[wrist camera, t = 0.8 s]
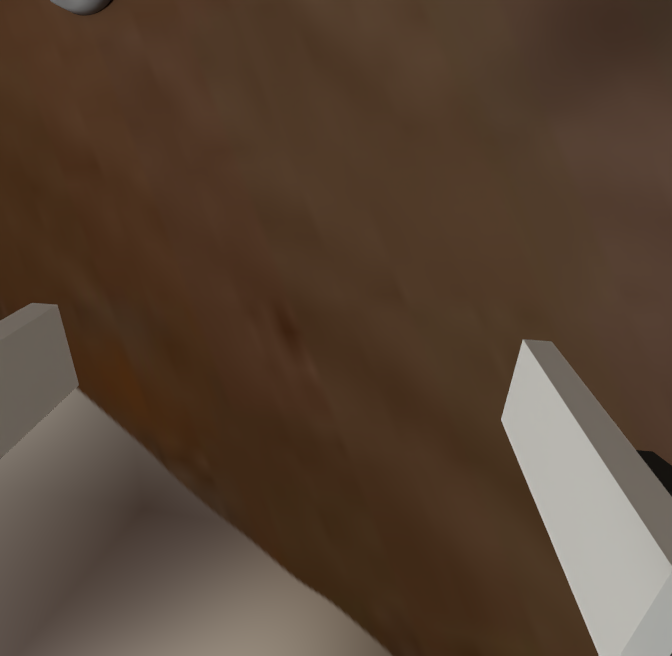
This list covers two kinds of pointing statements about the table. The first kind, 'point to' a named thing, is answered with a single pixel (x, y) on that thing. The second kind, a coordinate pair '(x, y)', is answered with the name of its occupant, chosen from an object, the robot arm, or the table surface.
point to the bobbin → (82, 6)
